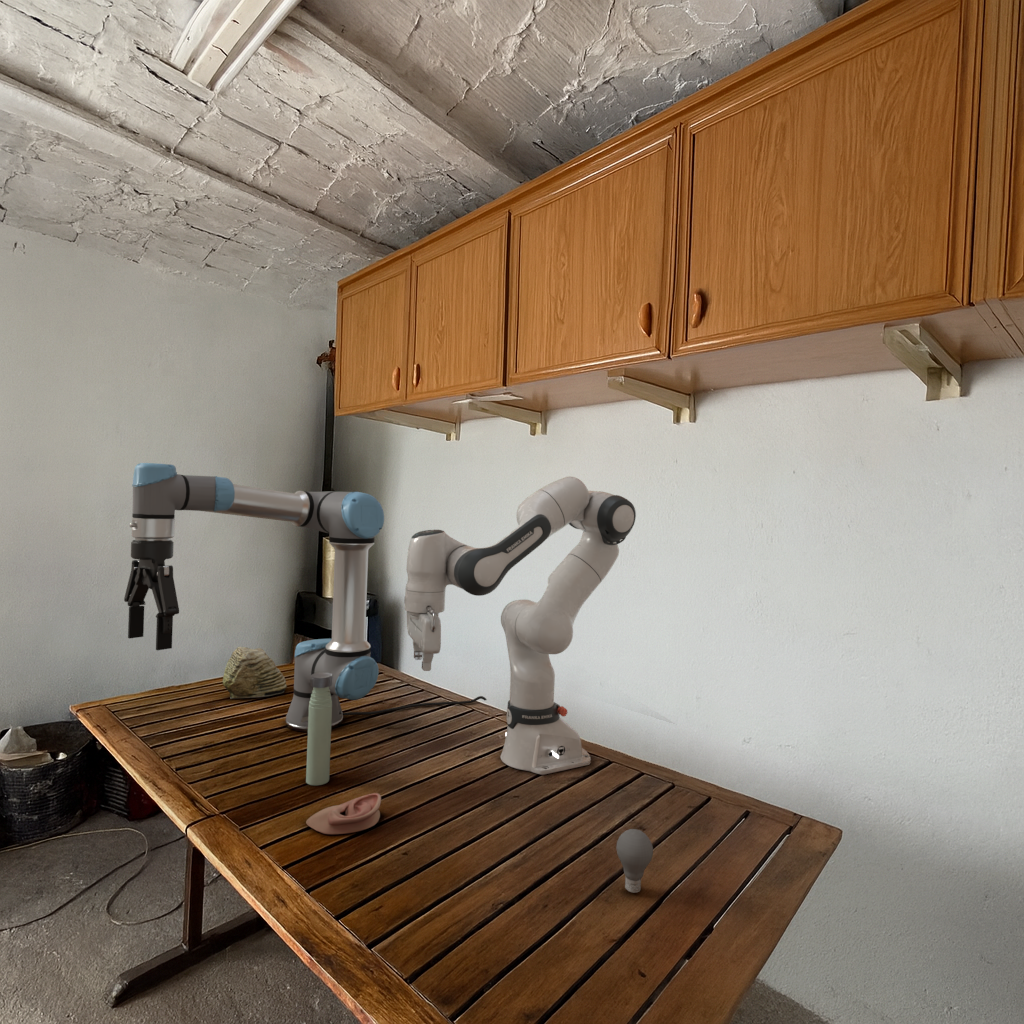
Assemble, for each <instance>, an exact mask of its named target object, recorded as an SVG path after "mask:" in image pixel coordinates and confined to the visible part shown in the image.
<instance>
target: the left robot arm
mask: <svg viewBox="0 0 1024 1024" xmlns="http://www.w3.org/2000/svg"><path fill="white" fill-rule="evenodd" d="M176 467H177V466H175V465H174V464H167V463H156V462H139V463H137V464H136V465H135V466H134V471H133V477H132V484H131V487H132V515H131V520H132V521H131V522H130V523H129V527H130V528H131V537H132V538H134V539H133V540H132V541H130V557H131V559H132V561H131V566H130V568H131V569H130V573H129V574H130V575H129V578H128V582H127V586H126V590H125V594H124V598H123V600H124V602H125V603H127V606H128V621H127V622H128V626H127V627H128V628H127V639H135V638H136V639H137V638H143V637H144V629H145V605H146V601H145V599H146V596H147V593H148V592H149V590H151V591H152V595H153V598H154V601H155V605H156V608H157V611H158V612H157V613H156V614H155V618H156V630H155V631H156V633H155V650H156V651H162V650H170V649H173V627H174V625H173V623H174V616H175V615H179V614H180V606H179V602H178V598H177V597H178V595H177V590H176V585H175V580H174V566H173V565H166V562H165V561H166V560H170V559H172V558H173V557H174V543H175V542H174V541H173V540H172V539H173V538H174V537H175V522H176V521H175V518H176V517H175V516H176V515H175V512H176V511H192V512H193V511H195V512H196V511H198V512H204V513H206V512H207V513H214V514H222V515H231V516H241V517H247V518H256V519H263V520H264V519H265V520H273V521H274V520H275V521H282V522H290V524H291V525H292V526H294V527H301V528H307V529H311V530H314V531H318V532H322V533H325V534H329V535H328V543H329V544H330V546H331V547H332V548H333V549H334V561H333V562H334V565H333V566H334V567H333V589H332V590H333V591H332V621H331V623H332V624H331V638H318V639H308V640H304V641H300V642H299V643H297V645H296V646H295V650H294V655H293V657H294V672H293V673H294V674H293V695H292V696H293V697H292V699H291V702H290V704H289V708H288V711H287V713H286V715H285V726H286V728H287V729H289V730H291V731H294V732H295V731H296V732H301V733H308V714H309V701H310V698H311V694H312V690H313V687H312V686H311V685H310V682H311V675H312V674H314V673H320V672H326V673H331V674H332V677H333V680H332V685H331V686H329V690H330V693H331V700H332V722H331V730H332V729H335V728H337V727H339V726H340V725H342V723H343V722H344V716H371V715H378V714H384V713H389V712H394V711H398V710H399V711H400V710H405V709H411V708H417V707H426V706H427V707H428V706H443V705H445V706H446V705H447V706H448V705H465V704H472V703H475V702H476V701H478V700H483V701H487V700H488V699H487V698H486V697H485V696H483V695H480V696H476V697H475V698H473V699H471V701H470V700H460V701H458V700H457V701H437V702H421V703H413V704H407V705H402V706H401V705H400V706H397V707H391V708H386V709H381V710H374V711H351V712H343V709H342V706H341V702H340V699H339V698H341V699H342V700H343V699H344V700H348V701H349V700H350V701H357V700H360V699H362V698H364V697H365V696H367V695H368V694H370V692H371V690H372V689H374V687H375V685H376V683H377V681H378V678H379V674H380V673H379V671H380V670H379V669H380V668H379V665H378V663H377V662H376V660H375V659H374V658H373V657H371V648H372V646H371V643H370V642H368V640H366V623H367V622H366V621H367V595H368V594H367V593H368V569H369V567H368V566H369V550H370V548H371V547H372V546H374V545H375V537H376V536H377V535H379V534H380V531H381V530H383V527H384V524H385V512H384V509H383V506H382V505H381V503H380V501H378V498H376V497H375V496H373V495H372V494H370V493H366V492H361V491H337V490H336V491H335V490H333V491H332V490H330V491H307V490H306V491H305V490H296V491H295V492H289V491H288V492H287V491H281V490H275V489H269V488H261V487H255V486H249V485H242V484H235V483H233V482H232V480H231V479H229V478H228V477H222V476H217V475H213V476H211V475H191V474H190V475H189V474H188V475H187V474H179V473H178V472H177V468H176Z"/></svg>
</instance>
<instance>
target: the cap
mask: <svg viewBox="0 0 1024 1024" xmlns="http://www.w3.org/2000/svg"><path fill="white" fill-rule="evenodd" d="M332 680H333V677H332V674H331V673H326V672H320V673H314V674H312V675H311V682H310V685H311V686H312V687H315V688H325V687H329V686H331V685H332Z"/></svg>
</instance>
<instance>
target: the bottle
mask: <svg viewBox="0 0 1024 1024" xmlns="http://www.w3.org/2000/svg"><path fill="white" fill-rule="evenodd" d="M331 722H332V700H331V693H330V690H329V687H325V688H315V687H313V690H312V694H311V698H310V701H309V714H308V732H307V741H306V743H307V744H306V766H305V767H306V771H305V783H306V784H307V785H308V786H309V785H310V786H322V785H325V784H327V783H328V782H329V781H330V772H331V771H330V770H331V748H332V747H331V746H332V744H331V743H332V729H331Z"/></svg>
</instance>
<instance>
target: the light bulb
mask: <svg viewBox="0 0 1024 1024" xmlns="http://www.w3.org/2000/svg"><path fill="white" fill-rule="evenodd" d="M615 849H616V854H617V857H618V859H619V861H620V863H621V865H622V867H623V873H624V874H623V875H624V876H625V878H624V888H625V890H627V891H628V892H630V893H634V894H635V893H639V892H640V891H641V889H642V887H641V886H642V879H643V877H644V875H645V871H646V868H647V867H648V866H649V864H650V863H651V861H652V859H653V855H654V847H653V843H652V841H651V838H649V836H648V835H647V834H646V833H645V832H643V831H642V830H641V829H636V828H629V829H627V830H625V831H623V832H622V833H621V834H620V835H619V837H618V839H617V841H616V847H615Z"/></svg>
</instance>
